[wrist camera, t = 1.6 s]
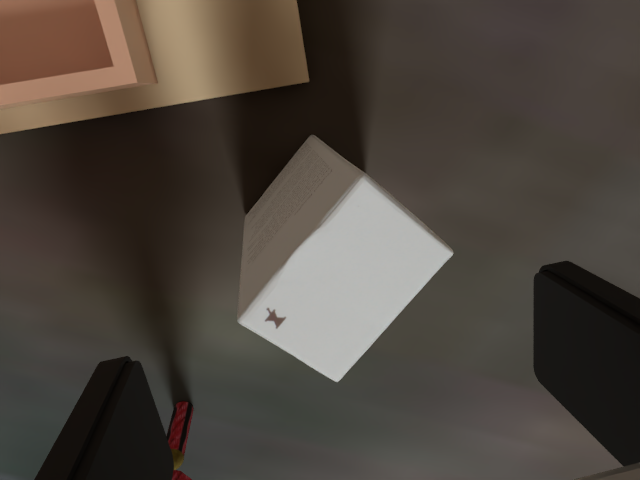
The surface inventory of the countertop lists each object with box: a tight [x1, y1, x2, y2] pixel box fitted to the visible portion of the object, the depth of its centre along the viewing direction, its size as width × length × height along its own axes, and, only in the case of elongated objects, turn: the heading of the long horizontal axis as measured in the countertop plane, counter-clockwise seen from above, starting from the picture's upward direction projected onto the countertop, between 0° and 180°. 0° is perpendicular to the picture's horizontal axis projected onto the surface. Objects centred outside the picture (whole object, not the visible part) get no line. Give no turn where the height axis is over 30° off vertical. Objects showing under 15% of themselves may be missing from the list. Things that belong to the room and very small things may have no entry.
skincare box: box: [237, 135, 453, 382], centre depth 19 cm, size 6×4×12 cm
